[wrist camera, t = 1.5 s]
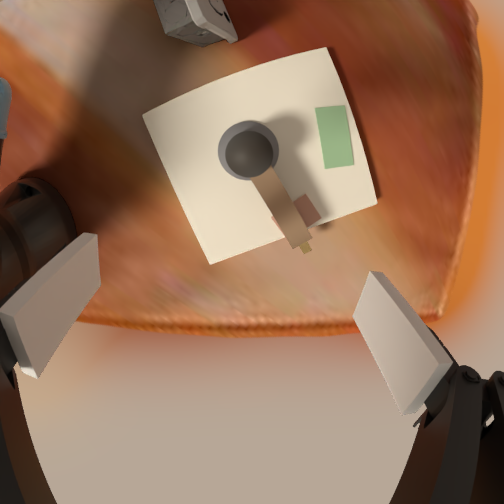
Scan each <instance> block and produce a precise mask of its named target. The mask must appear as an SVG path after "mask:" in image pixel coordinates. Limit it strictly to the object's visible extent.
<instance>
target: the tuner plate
mask: <svg viewBox="0 0 504 504" xmlns="http://www.w3.org/2000/svg"><path fill="white" fill-rule="evenodd" d="M142 117H143V119H144V121H145V124H146V126H147V129H148V131H149V133H150V136H151V138H152V140H153V143H154V145H155V147H156V150H157V152H158V154H159V156H160V159H161V161H162V163H163V166H164V168H165V170H166V172H167V175H168V177H169V179H170V181H171V183H172V186H173V188H174V190H175V192H176V194H177V197H178V199H179V201H180V203H181V205H182V207H183V209H184V212H185V214H186V216H187V218H188V220H189V222H190V224H191V226H192V229H193V231H194V233H195V235H196V237H197V239H198V241H199V243H200V245H201V247H202V249H203V251H204V253H205V255H206V257H207V260H208V262H209V264H210V265H211V264H213V263H216V262H219V261H222V260H224V259H227V258H230V257H233V256H235V255H238V254H241V253H243V252H246V251H249V250H252V249H254V248H257V247H260V246H263V245H265V244H268V243H271V242H274V241H276V240H279V239H282V238H285V237H286V236H285V235H284V233H283V231H282V230H281V228H280V226H279V225H278V223H277V221H276V220H275V218H274V216H273V215H272V213H271V212H270V210H269V208H268V207H267V205H266V203H265V202H264V200H263V198H262V197H261V195H260V194H259V192H258V190H257V189H256V187H255V185H254V184H253V182H252V181H251V179H250V178H247V177H242V176H239V175H237V174H236V173H234V172H233V171H232V170H231V169H230V168H229V166H228V164H227V162H226V158H225V151H226V147H227V144H228V142H229V141H230V140H231V138H233V137H234V136H235V135H236V134H238V133H241V132H244V131H255V132H258V133H260V134H262V135H264V136H265V137H266V138H267V139H268V140H269V142H270V143H271V145H272V148H273V160H272V163H271V166H272V168H273V169H274V171H275V173H276V174H277V176H278V178H279V179H280V181H281V183H282V185H283V186H284V188H285V190H286V191H287V193H288V195H289V197H290V198H291V200H292V202H293V204H294V205H295V207H296V209H297V211H298V212H299V214H300V216H301V218H302V220H303V221H304V223H305V225H306V227H307V229H309V228H312V227H315V226H317V225H320V224H323V223H326V222H328V221H331V220H334V219H337V218H339V217H342V216H345V215H348V214H350V213H353V212H356V211H359V210H361V209H364V208H367V207H370V206H372V205H375V204H377V199H376V195H375V191H374V187H373V182H372V179H371V175H370V171H369V167H368V163H367V160H366V156H365V153H364V149H363V146H362V143H361V139H360V136H359V133H358V130H357V127H356V123H355V120H354V117H353V114H352V112H351V109H350V106H349V103H348V100H347V97H346V95H345V92H344V89H343V87H342V84H341V82H340V79H339V76H338V74H337V72H336V69H335V67H334V64H333V62H332V59H331V57H330V55H329V53H328V50H327V48H326V47H325V48H320V49H316V50H311V51H307V52H303V53H299V54H295V55H291V56H288V57H284V58H280V59H277V60H274V61H270V62H267V63H264V64H261V65H257V66H254V67H251V68H248V69H245V70H243V71H240V72H237V73H234V74H231V75H229V76H226V77H223V78H221V79H218V80H216V81H213V82H211V83H208V84H206V85H203V86H201V87H199V88H196V89H194V90H192V91H190V92H187V93H185V94H183V95H181V96H179V97H176V98H174V99H172V100H170V101H168V102H166V103H164V104H162V105H160V106H158V107H156V108H154V109H152V110H150V111H148V112H146V113H144V114H143V115H142ZM286 239H287V238H286Z"/></svg>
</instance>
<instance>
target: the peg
mask: <svg viewBox="0 0 504 504" xmlns="http://www.w3.org/2000/svg"><path fill="white" fill-rule="evenodd" d="M225 158H226V162H227V164H228V166H229V168H230V169H231V170H232V171H233V172H234V173H236V174H237V175H239V176H242V177H247V178H250V179H251V181H252V182H253V184H254V185H255V187H256V189H257V190H258V192H259V194H260V195H261V197H262V198H263V200H264V202H265V203H266V205H267V207H268V208H269V210H270V212H271V213H272V215H273V216H274V218H275V220H276V221H277V223H278V225H279V226H280V228H281V230H282V231H283V233H284V235H285V236H286V238H287V240H288V242H289V243H290V245H291V247H292V248H293V249H294V248H296V247H297V246H300V248H301V250H302V251H303V253H304V254H305V253H307V252H309V251H311V248H310V246H309V244H308V242H307V241H308V240H310V239H312V236H311V234H310V232H309V230H308V229H307V227H306V225H305V223H304V221H303V220H302V218H301V216H300V214H299V212H298V211H297V209H296V207H295V205H294V204H293V202H292V200H291V198H290V197H289V195H288V193H287V191H286V190H285V188H284V186H283V185H282V183H281V181H280V179H279V178H278V176H277V174H276V173H275V171H274V169H273V168H272V166H271V163H272V160H273V148H272V145H271V143H270V142H269V140H268V139H267V138H266V137H265V136H264V135H262V134H260V133H258V132H255V131H244V132H241V133H238V134H236V135H235V136H234V137H233V138H231V140H230V141H229V142H228V144H227V147H226V151H225Z"/></svg>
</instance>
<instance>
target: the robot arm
mask: <svg viewBox="0 0 504 504" xmlns="http://www.w3.org/2000/svg"><path fill="white" fill-rule="evenodd" d="M11 97H12V91H11V87H10V85H9V83H8V82H7V81H6V80H5V79H3V78H1V77H0V164H1V155H2V148H3V142H4V139H5V138H7V131H6V126H7V120H8V114H9V108H10V103H11ZM100 286H101V281H100V270H99V257H98V240H97V234H91V233H83V234H81V235H80V236H79V237H78V238H77V234H76V228H75V224H74V220H73V217H72V215H71V212H70V210H69V208H68V206H67V204H66V202H65V201H64V199H63V198H62V196H61V195H60V194H59V192H58V191H57V190H56V189H55V188H54V187H53V186H51V185H50V184H49V183H47V182H45V181H44V180H41V179H38V178H32V177H30V178H24V179H21V180H18V181H16V182H13V183H11V184H10V185H8V186H7V187H6V188H5V189H4V190H3V191H2V192H1V193H0V504H57V503H56V501H55V499H54V496H53V494H52V492H51V490H50V488H49V485H48V483H47V481H46V478H45V476H44V473H43V471H42V468H41V466H40V463H39V460H38V457H37V454H36V452H35V449H34V446H33V443H32V440H31V436H30V433H29V429H28V426H27V422H26V418H25V415H24V410H23V406H22V402H21V398H20V393H19V388H18V382H17V377H16V373H15V370H14V368H13V367H14V366H15V364H16V362H17V361H18V363H19V366H20V368H21V370H22V372H23V373H25V374H27V375H30V376H32V377H34V378H37V379H38V378H39V377H40V375H41V373H42V372H43V370H44V368H45V367H46V365H47V363H48V362H49V360H50V359H51V357H52V355H53V354H54V352H55V351H56V349H57V347H58V346H59V344H60V343H61V341H62V340H63V338H64V337H65V335H66V334H67V332H68V330H69V329H70V328H71V326H72V325H73V323H74V322H75V320H76V319H77V318H78V316H79V315H80V313H81V312H82V310H83V309H84V308H85V306H86V305H87V303H88V302H89V301H90V299H91V298H92V297H93V295H94V294H95V292H96V291H97V290H98V288H99V287H100ZM353 318H354V320H355V322H356V324H357V326H358V328H359V330H360V332H361V334H362V335H363V337H364V339H365V341H366V343H367V345H368V347H369V349H370V351H371V353H372V355H373V357H374V359H375V361H376V363H377V365H378V367H379V369H380V371H381V373H382V375H383V377H384V379H385V381H386V384H387V386H388V388H389V390H390V392H391V394H392V396H393V398H394V401H395V403H396V405H397V407H398V409H399V411H400V414H401V415H406V414H411V413H416V412H417V411H418V409H419V408H420V407H421V406H422V405H423V403H425V405H426V407H427V409H426V410H425V412H424V413H423V414H422V415H421V416H420V417H419V419H418V420H417V421H416V422H415V423H414V425H413V427H415V426H416V425H417V424H418V423H420V425H419V428H418V432H417V435H416V438H415V441H414V444H413V447H412V450H411V453H410V456H409V458H408V461H407V464H406V466H405V469H404V471H403V474H402V476H401V479H400V481H399V483H398V486H397V488H396V490H395V493H394V495H393V497H392V499H391V501H390V503H389V504H504V372H501V371H495V372H494V373H493V374H492V376H491V377H490V379H489V380H486V379H481V377H480V375H479V374H478V373H477V372H476V371H475V370H474V369H472V368H471V367H468V366H466V365H462V366H459V365H458V364H457V362H456V361H455V359H454V358H453V357H452V355H451V354H450V352H449V351H448V350H447V348H446V347H445V346H443V343H442V342H441V340H439V338H438V336H437V335H436V334H435V333H434V331H433V330H431V329H430V328H429V327H428V326H427V325H425V324H424V322H423V321H422V320H421V318H420V317H419V316H418V315H417V313H416V312H415V311H414V310H413V308H412V307H411V306H410V305H409V303H408V302H407V301H406V300H405V299H404V297H403V296H402V295H401V294H400V293H399V291H398V290H397V289H396V288H395V287H394V285H393V284H392V283H391V282H390V281H389V280H388V278H387V277H386V276H385V275H384V274H383V273H382V272H375V271H370V272H369V275H368V277H367V280H366V283H365V286H364V288H363V291H362V294H361V296H360V299H359V301H358V304H357V307H356V309H355V312H354V314H353ZM492 415H494V420H493V422H492V423H491V424H490V425H489V426H486V421H487V420H488V419H489V418H490V417H491V416H492Z"/></svg>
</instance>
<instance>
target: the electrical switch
mask: <svg viewBox="0 0 504 504" xmlns="http://www.w3.org/2000/svg"><path fill="white" fill-rule="evenodd" d="M153 1H154V4H155V7H156V9H157V12H158V15H159V18H160V21H161V23H162V26H163V29H164V32H165V34H167V33H169V32H170V33H169V34H167V35H168V36H172V37H175V38H178V39H181V40H184V41H186V42H189V43H192V44H195V45H198V46H200V47H204V46H207V45H209V44H211V43H215V42H218V41H220V40H223V39H226V40H227V42H229V43H230V44H231V43H233V42H235V41H237V40H238V36H237V34H236V32H235V29H234V27H233V24H232V22H231V20H230V17H229V15H228V12H227V10H226V8H225V6H224V3H223V1H222V0H153ZM171 31H172V32H171Z"/></svg>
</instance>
